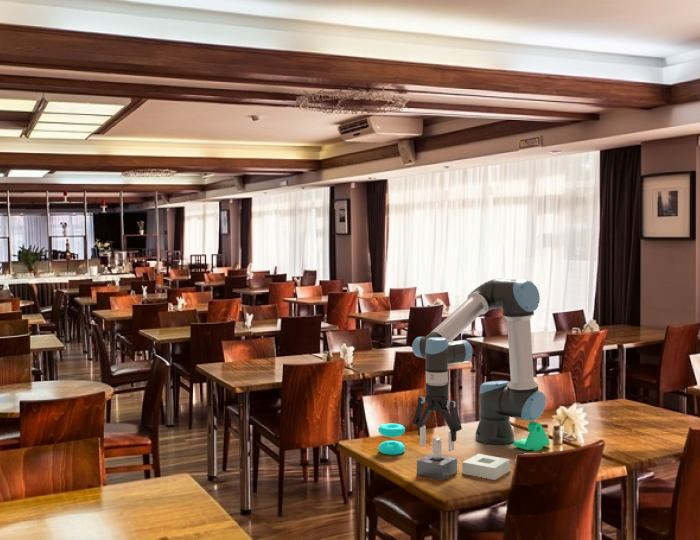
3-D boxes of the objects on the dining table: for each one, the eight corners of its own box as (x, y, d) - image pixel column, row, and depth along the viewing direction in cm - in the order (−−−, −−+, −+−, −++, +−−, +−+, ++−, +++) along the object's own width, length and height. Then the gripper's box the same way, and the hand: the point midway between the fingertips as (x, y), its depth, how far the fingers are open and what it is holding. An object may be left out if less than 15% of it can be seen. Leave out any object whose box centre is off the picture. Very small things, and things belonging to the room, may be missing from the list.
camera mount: (533, 443, 292) (533, 417, 292) (548, 447, 286) (548, 420, 285) (512, 448, 285) (512, 421, 285) (527, 452, 279) (527, 425, 279)
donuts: (384, 430, 274) (374, 423, 284) (384, 456, 275) (374, 449, 284) (409, 427, 277) (398, 421, 287) (409, 454, 278) (399, 447, 287)
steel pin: (435, 471, 257) (435, 437, 256) (443, 473, 255) (442, 438, 254) (431, 474, 254) (430, 439, 254) (438, 475, 252) (438, 440, 252)
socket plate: (478, 464, 264) (478, 453, 264) (510, 470, 257) (510, 459, 257) (462, 473, 254) (462, 462, 254) (494, 480, 247) (494, 468, 247)
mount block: (431, 467, 261) (431, 453, 261) (457, 472, 256) (457, 458, 255) (416, 474, 253) (416, 460, 253) (442, 480, 247) (442, 465, 247)
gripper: (402, 381, 257) (402, 445, 258) (461, 389, 243) (461, 456, 244) (413, 378, 263) (414, 440, 264) (472, 385, 249) (472, 450, 250)
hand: (436, 448), depth 254 cm, fingers open, 10 cm apart
